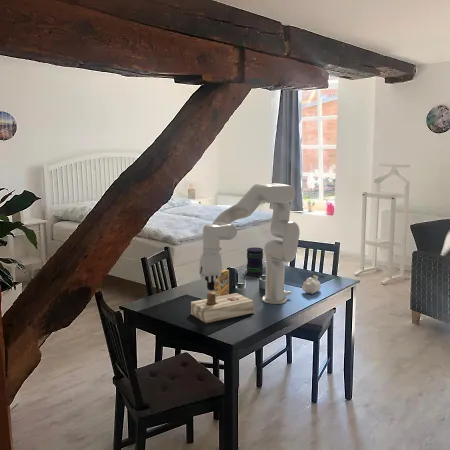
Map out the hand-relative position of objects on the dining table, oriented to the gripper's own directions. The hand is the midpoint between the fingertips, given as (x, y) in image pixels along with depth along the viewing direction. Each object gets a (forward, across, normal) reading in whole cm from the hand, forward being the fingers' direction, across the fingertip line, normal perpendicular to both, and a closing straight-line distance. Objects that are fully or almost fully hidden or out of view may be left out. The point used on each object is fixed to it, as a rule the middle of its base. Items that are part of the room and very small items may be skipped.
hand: (210, 289), depth 240 cm
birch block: (+13, -7, 0) cm, 14 cm away
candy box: (+13, -17, -17) cm, 27 cm away
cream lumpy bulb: (+12, -65, -2) cm, 66 cm away
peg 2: (+13, -13, 0) cm, 18 cm away
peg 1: (+8, 0, 0) cm, 8 cm away
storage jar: (+12, -62, -50) cm, 80 cm away
